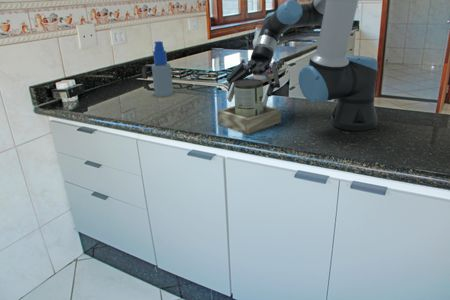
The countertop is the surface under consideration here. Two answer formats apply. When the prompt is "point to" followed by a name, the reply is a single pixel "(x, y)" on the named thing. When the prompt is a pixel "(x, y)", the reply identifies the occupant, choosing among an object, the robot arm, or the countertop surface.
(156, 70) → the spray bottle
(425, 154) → the countertop surface
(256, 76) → the fruit juice
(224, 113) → the light wooden square tray
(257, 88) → the coffee can
